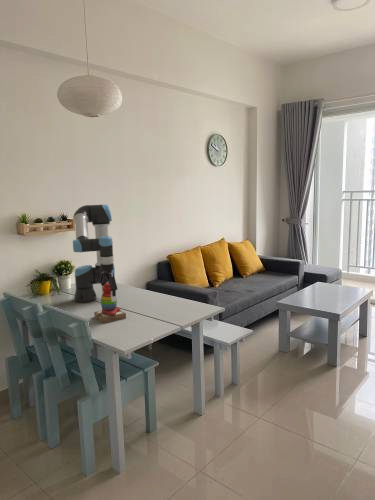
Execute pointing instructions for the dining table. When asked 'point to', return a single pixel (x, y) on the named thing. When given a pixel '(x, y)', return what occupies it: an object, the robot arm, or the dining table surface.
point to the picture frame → (109, 318)
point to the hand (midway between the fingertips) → (109, 298)
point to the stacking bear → (108, 302)
